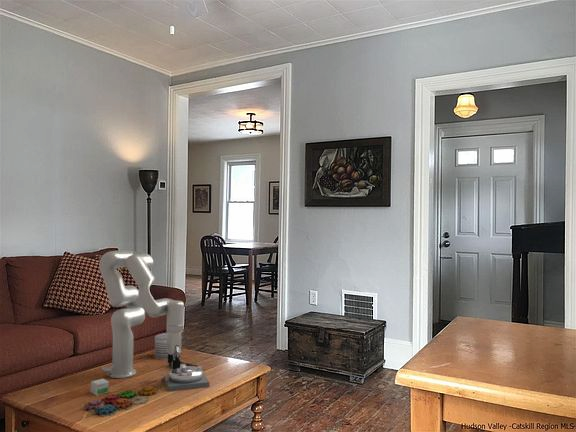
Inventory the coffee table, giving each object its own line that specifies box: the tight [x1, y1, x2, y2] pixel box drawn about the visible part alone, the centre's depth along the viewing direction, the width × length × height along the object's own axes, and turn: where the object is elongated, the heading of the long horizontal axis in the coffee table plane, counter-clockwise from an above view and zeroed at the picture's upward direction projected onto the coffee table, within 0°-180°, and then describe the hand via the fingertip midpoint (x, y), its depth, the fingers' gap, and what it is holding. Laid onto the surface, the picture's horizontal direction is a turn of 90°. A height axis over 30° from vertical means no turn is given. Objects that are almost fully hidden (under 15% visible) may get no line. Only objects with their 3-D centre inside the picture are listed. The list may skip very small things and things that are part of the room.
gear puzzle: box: [81, 385, 159, 418], centre depth 192 cm, size 31×16×4 cm, turn 144°
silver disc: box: [168, 361, 204, 383], centre depth 216 cm, size 15×15×8 cm
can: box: [154, 332, 176, 360], centre depth 257 cm, size 11×11×12 cm
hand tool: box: [168, 360, 199, 368], centre depth 236 cm, size 19×4×5 cm, turn 53°
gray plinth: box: [163, 372, 210, 392], centre depth 216 cm, size 18×18×5 cm
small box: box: [90, 378, 110, 396], centre depth 201 cm, size 6×6×5 cm
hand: (173, 365), depth 214 cm, fingers open, 9 cm apart
